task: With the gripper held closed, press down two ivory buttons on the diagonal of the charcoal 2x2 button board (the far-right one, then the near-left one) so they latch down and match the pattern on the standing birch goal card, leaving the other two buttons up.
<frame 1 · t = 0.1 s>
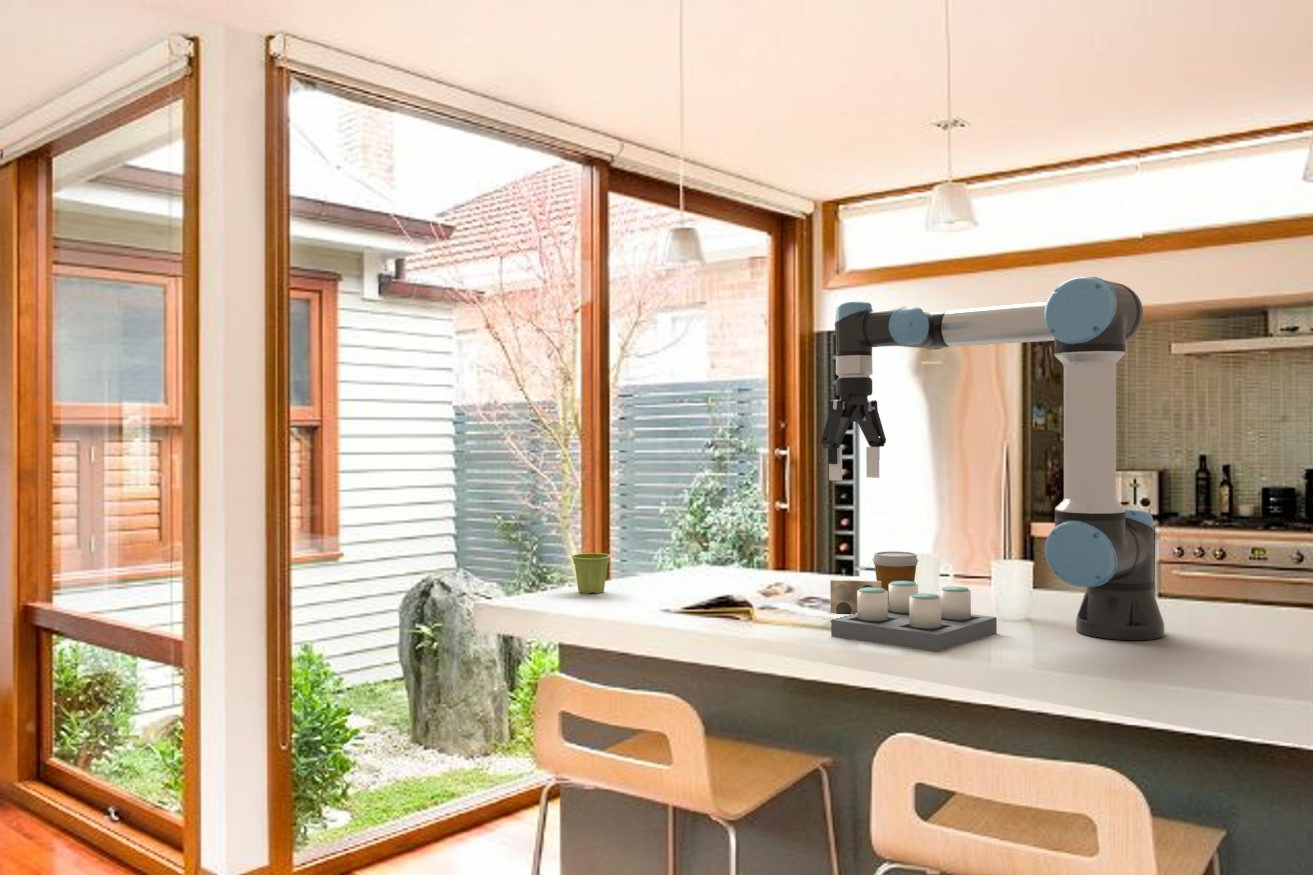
hand: (854, 479, 225), 28 cm above the table, fingers open, 13 cm apart
button c: (925, 610, 194), point 6 cm above the table, slide at 0.0 cm
plant pot: (591, 592, 257), on the table
disposable coffee cup: (895, 611, 228), on the table
button d: (872, 603, 202), point 6 cm above the table, slide at 0.0 cm
button a: (955, 602, 202), point 6 cm above the table, slide at 0.0 cm
button b: (903, 596, 210), point 6 cm above the table, slide at 0.0 cm
goal card: (856, 620, 217), on the table
board: (914, 634, 202), on the table
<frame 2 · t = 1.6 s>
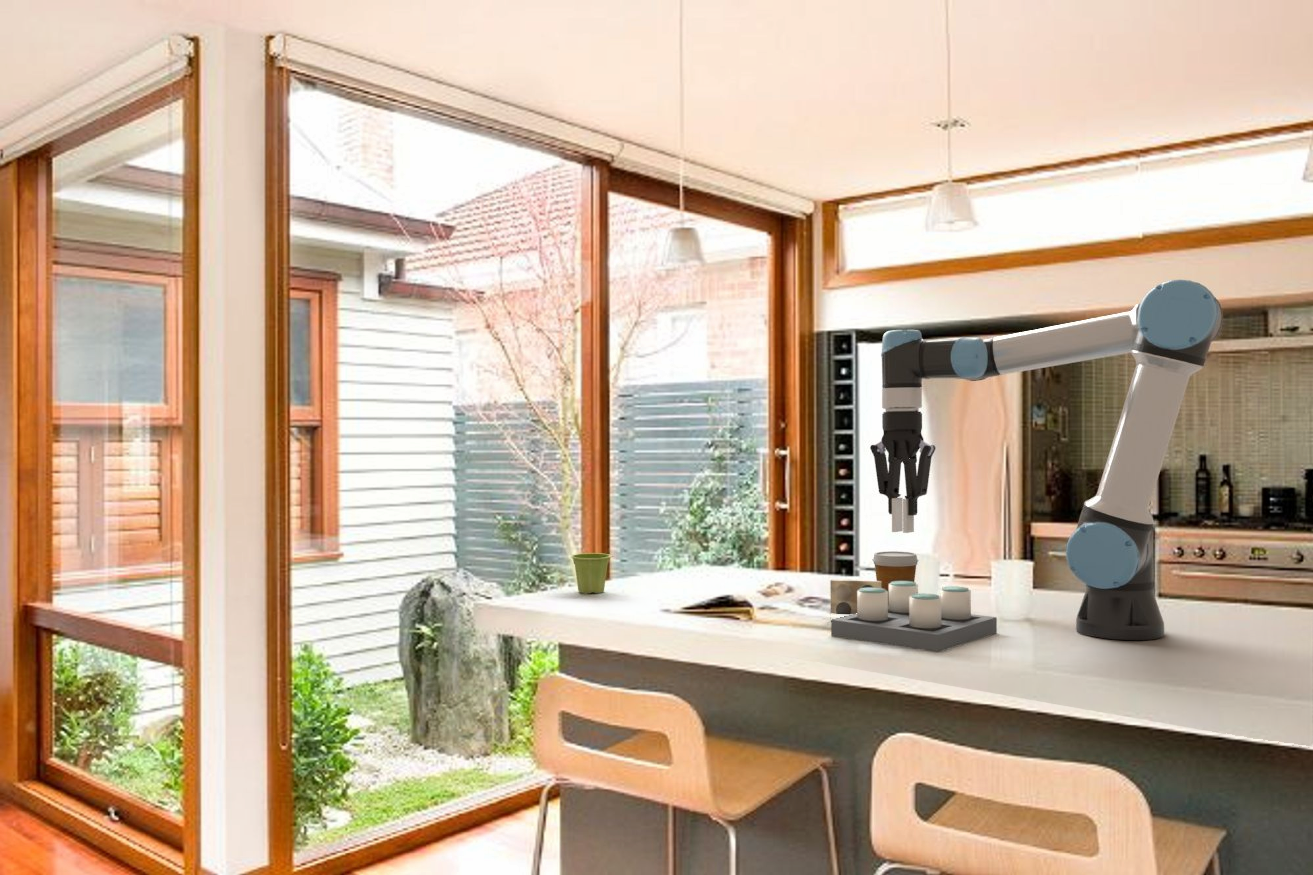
hand: (902, 531, 210), 18 cm above the table, fingers closed
nothing on the table moved.
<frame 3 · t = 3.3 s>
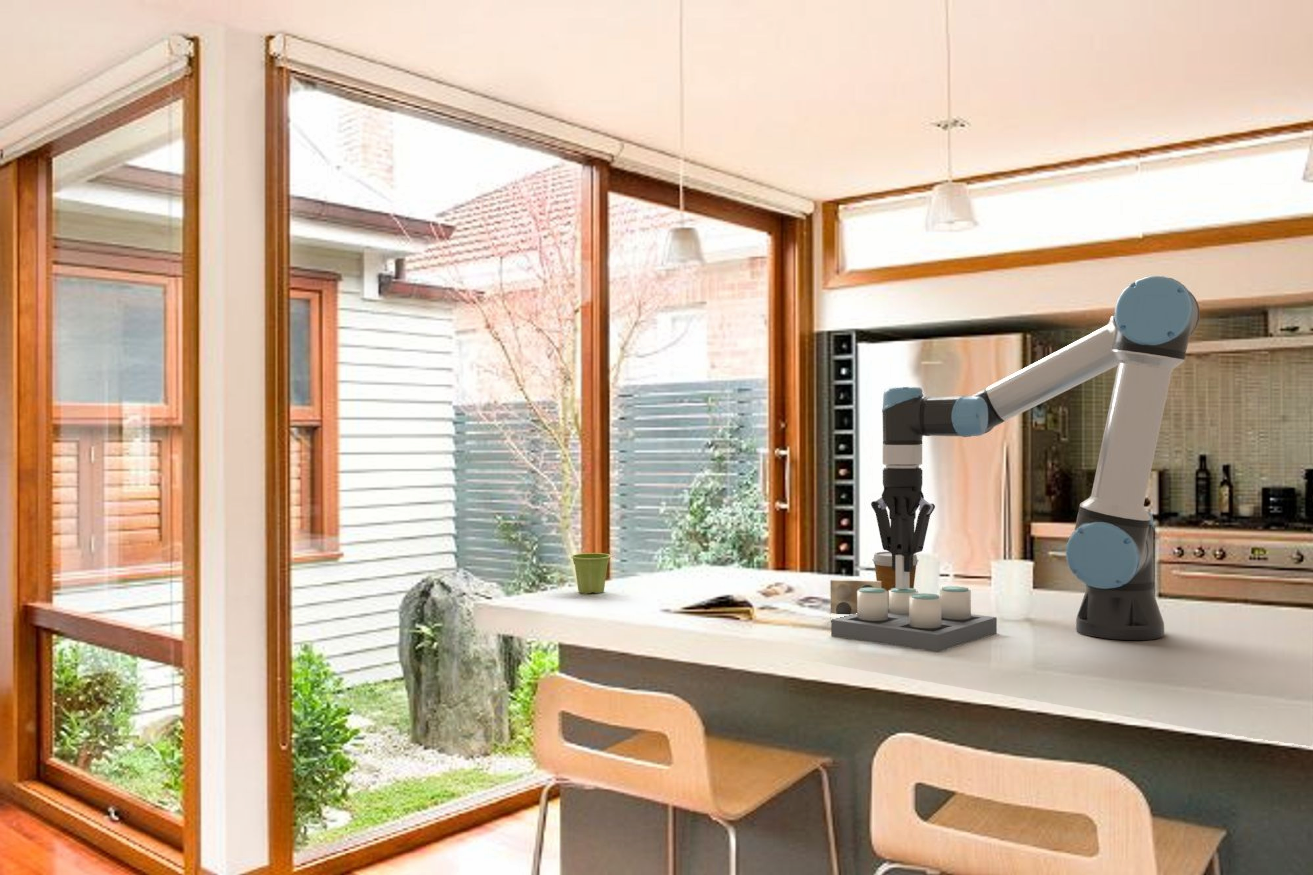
hand: (902, 588, 210), 7 cm above the table, fingers closed
button b: (903, 603, 210), point 5 cm above the table, slide at 1.3 cm, touching gripper
everything else where it was.
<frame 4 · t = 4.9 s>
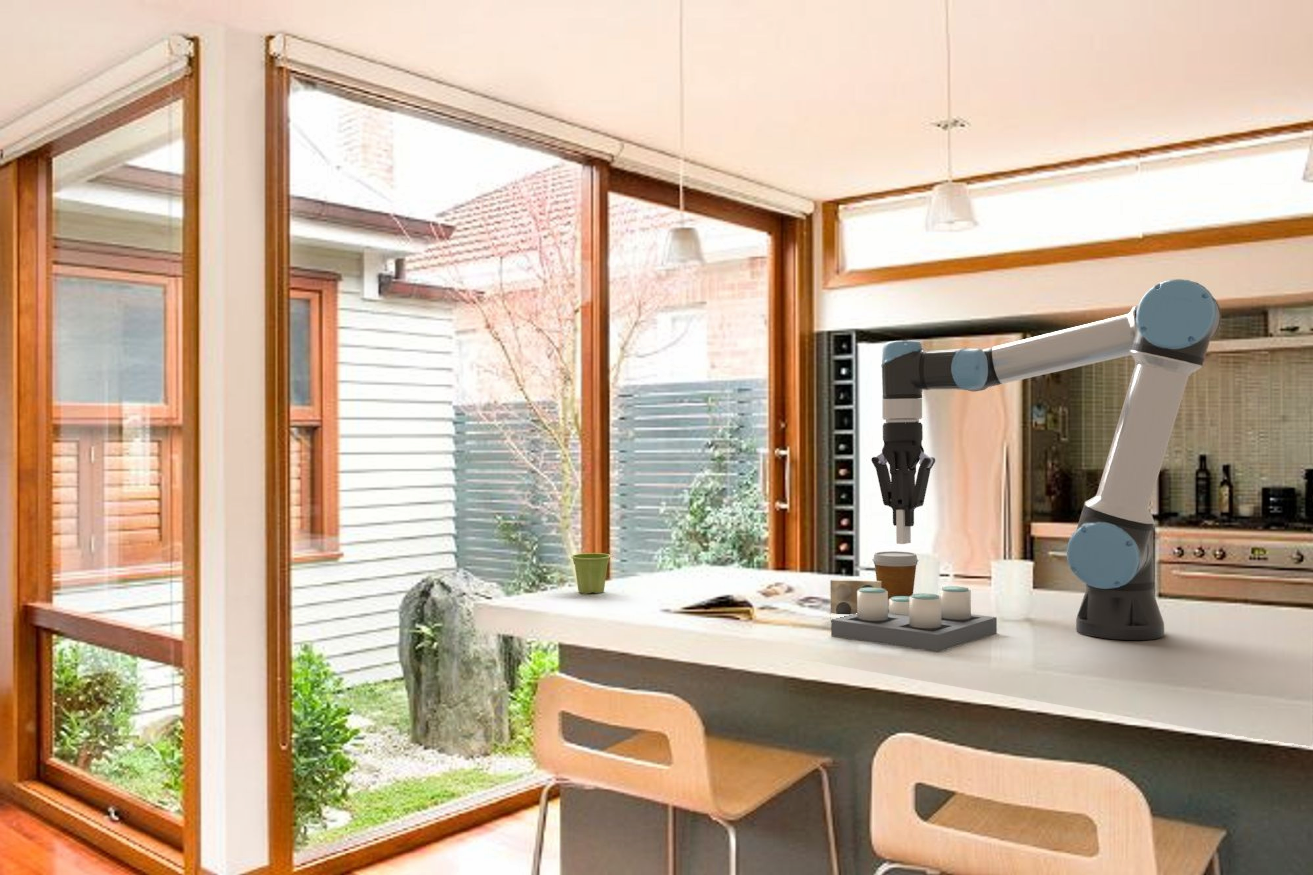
hand: (903, 543, 209), 16 cm above the table, fingers closed
button b: (903, 611, 210), point 3 cm above the table, slide at 3.0 cm
everything else where it was.
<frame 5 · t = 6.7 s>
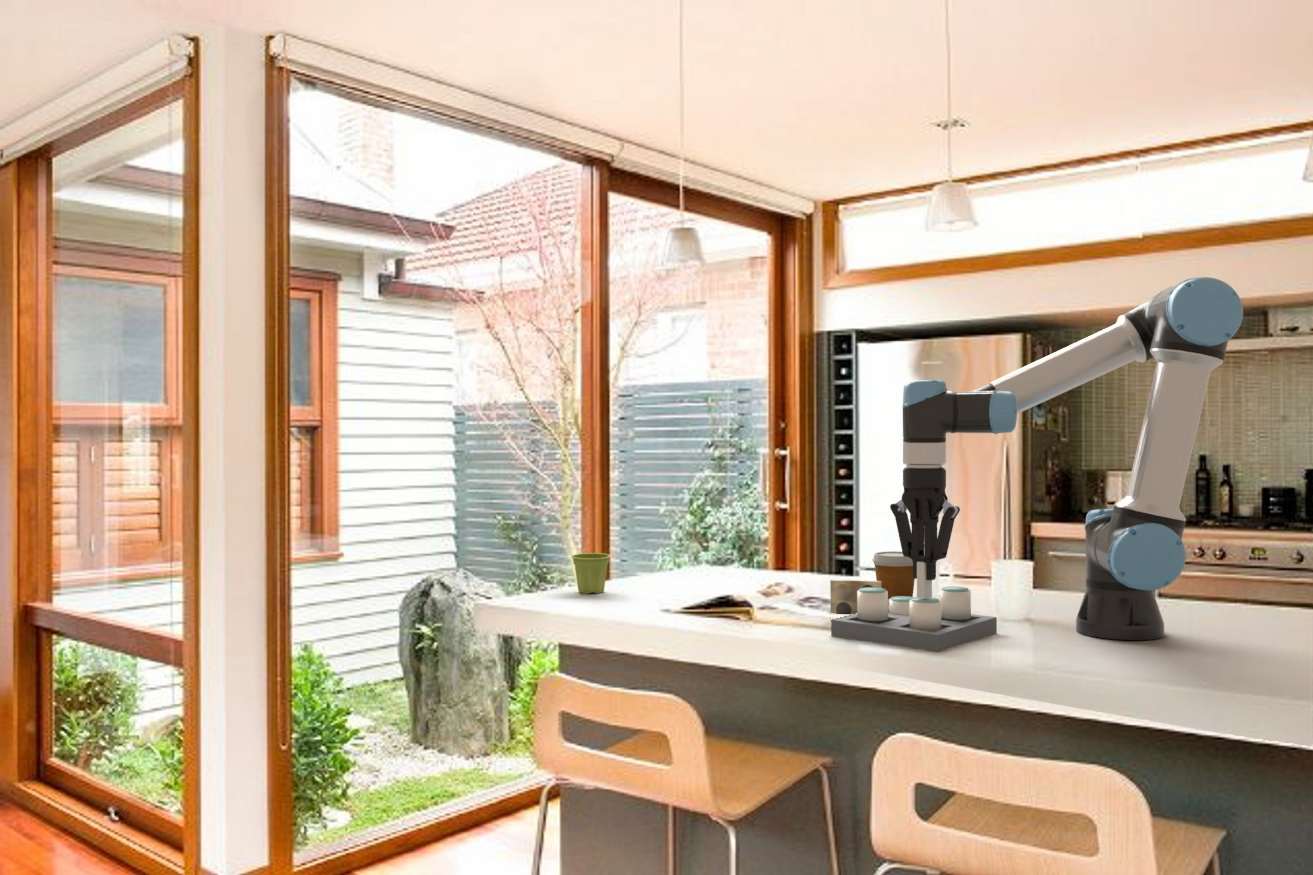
hand: (924, 597, 194), 8 cm above the table, fingers closed
button c: (925, 613, 194), point 5 cm above the table, slide at 0.6 cm, touching gripper
everything else where it was.
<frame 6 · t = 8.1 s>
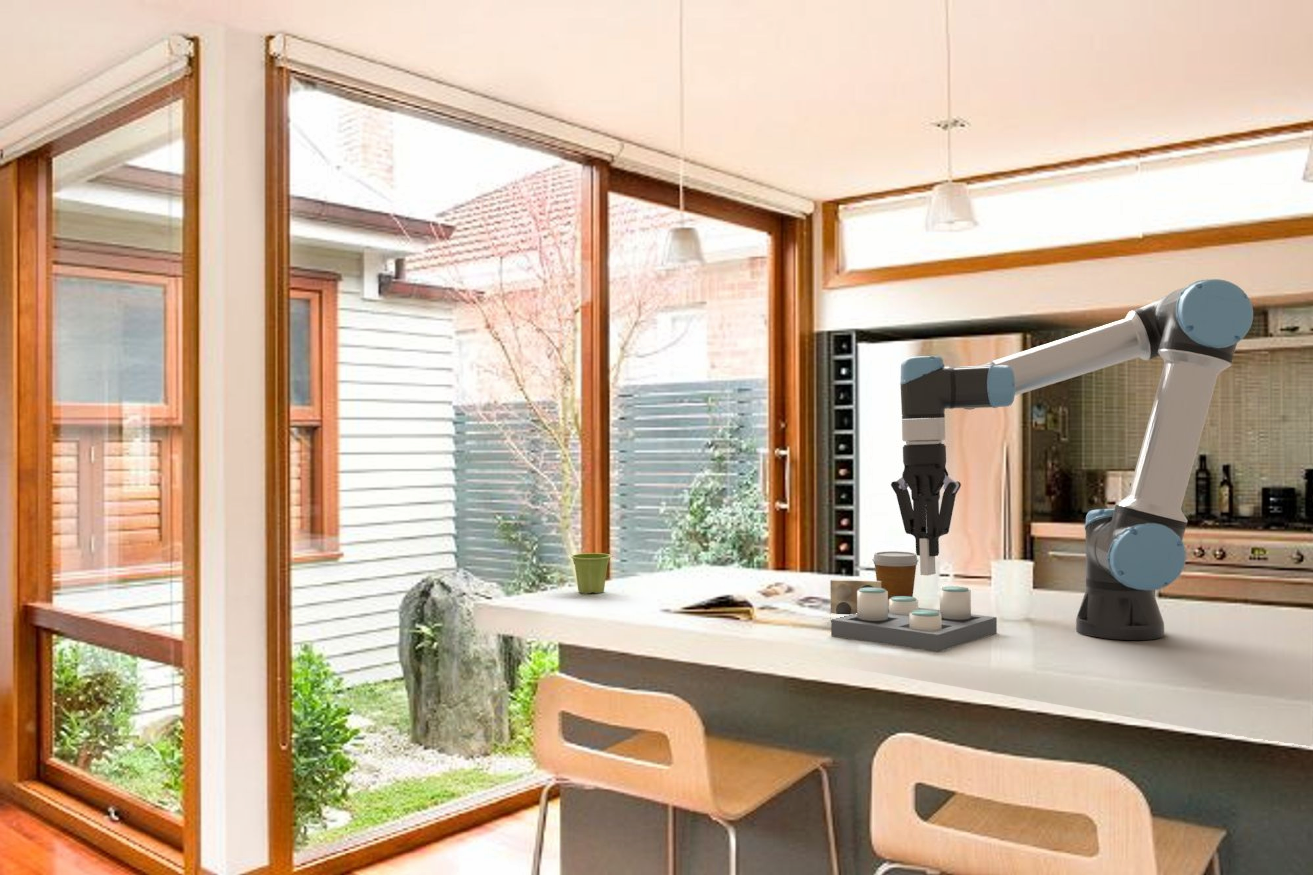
hand: (928, 574, 194), 12 cm above the table, fingers closed
button c: (925, 627, 194), point 3 cm above the table, slide at 3.0 cm
everything else where it was.
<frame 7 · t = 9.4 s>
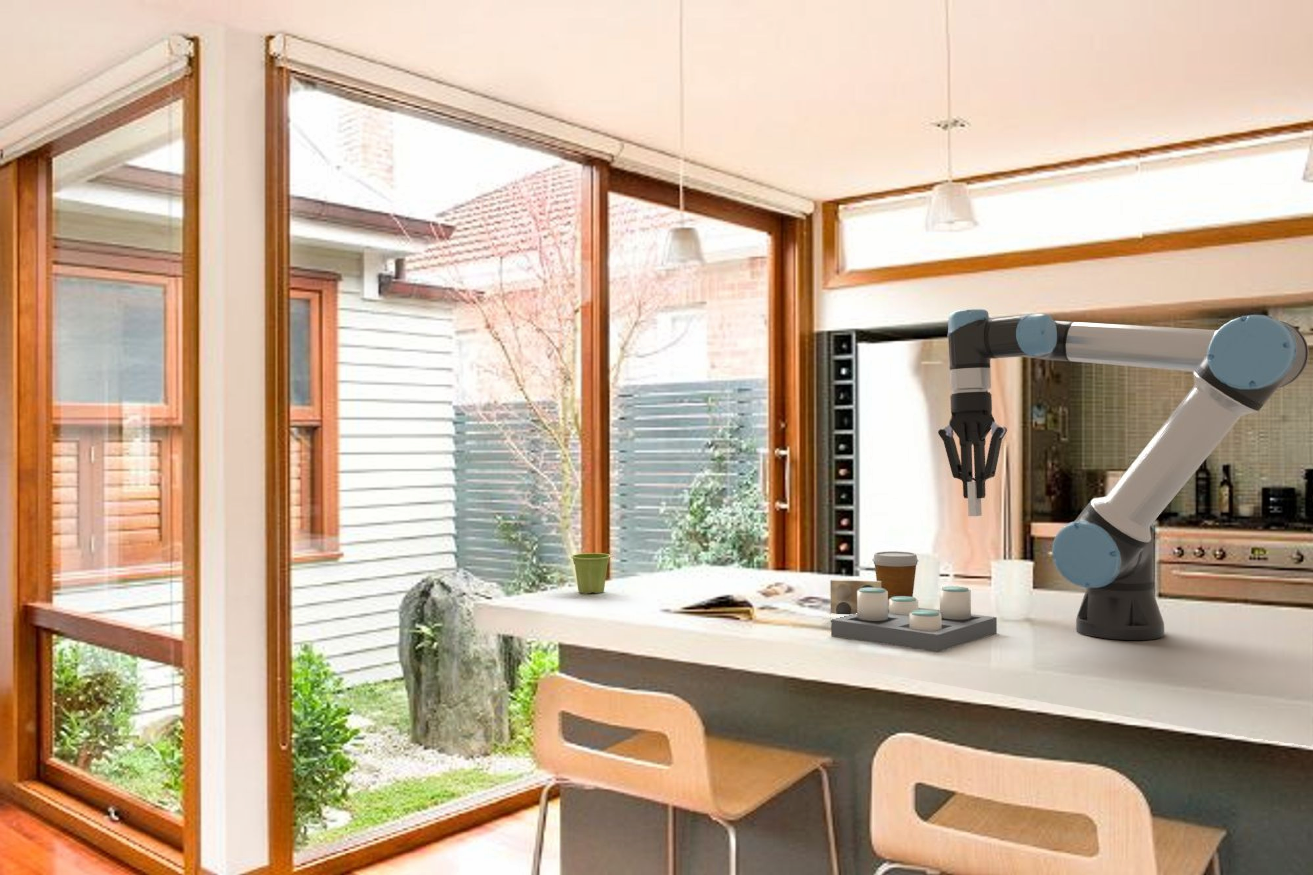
hand: (975, 515, 206), 22 cm above the table, fingers closed
nothing on the table moved.
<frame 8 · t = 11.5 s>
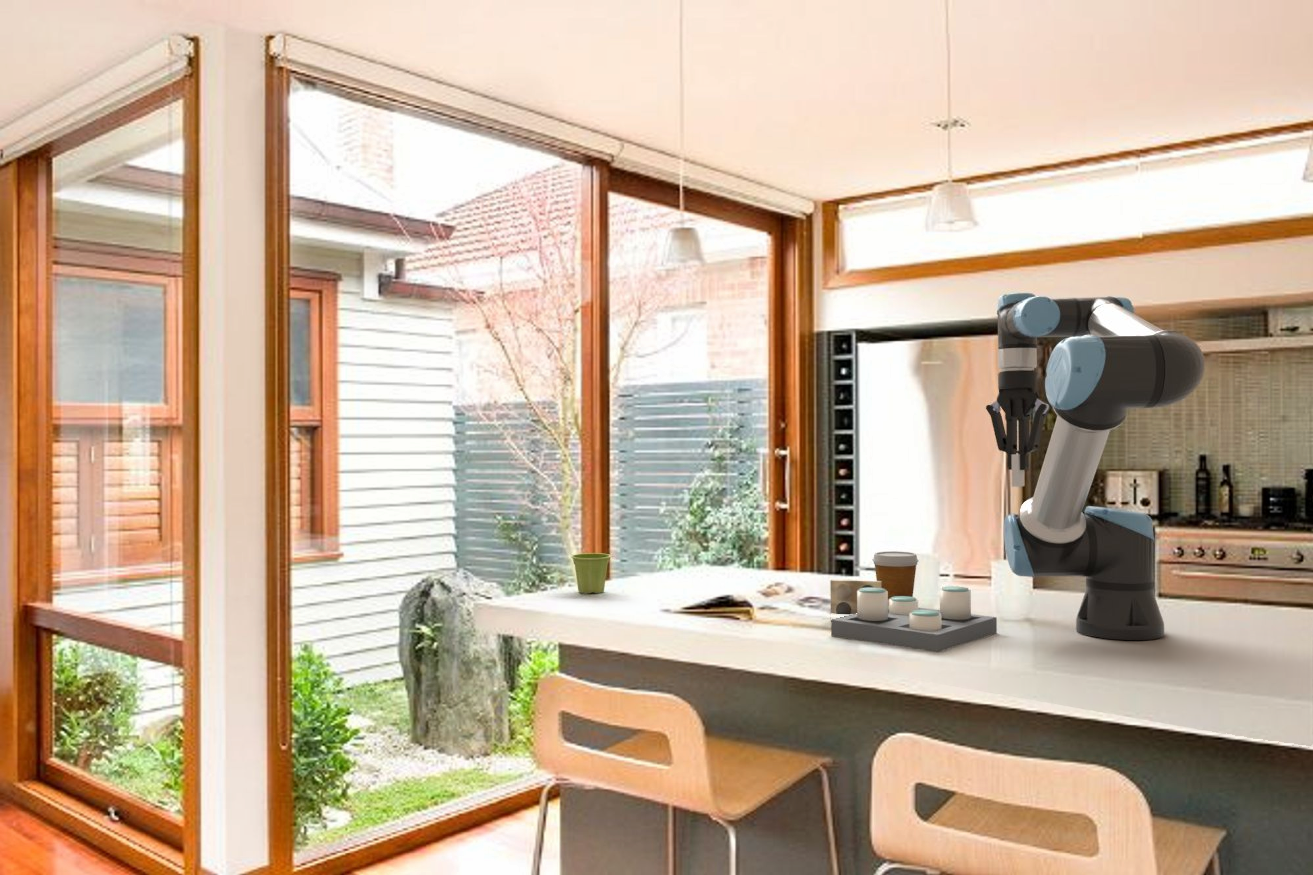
hand: (1018, 486, 220), 26 cm above the table, fingers closed
nothing on the table moved.
at the end: button b slide at 3.0 cm; button c slide at 3.0 cm; button a slide at 0.0 cm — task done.
